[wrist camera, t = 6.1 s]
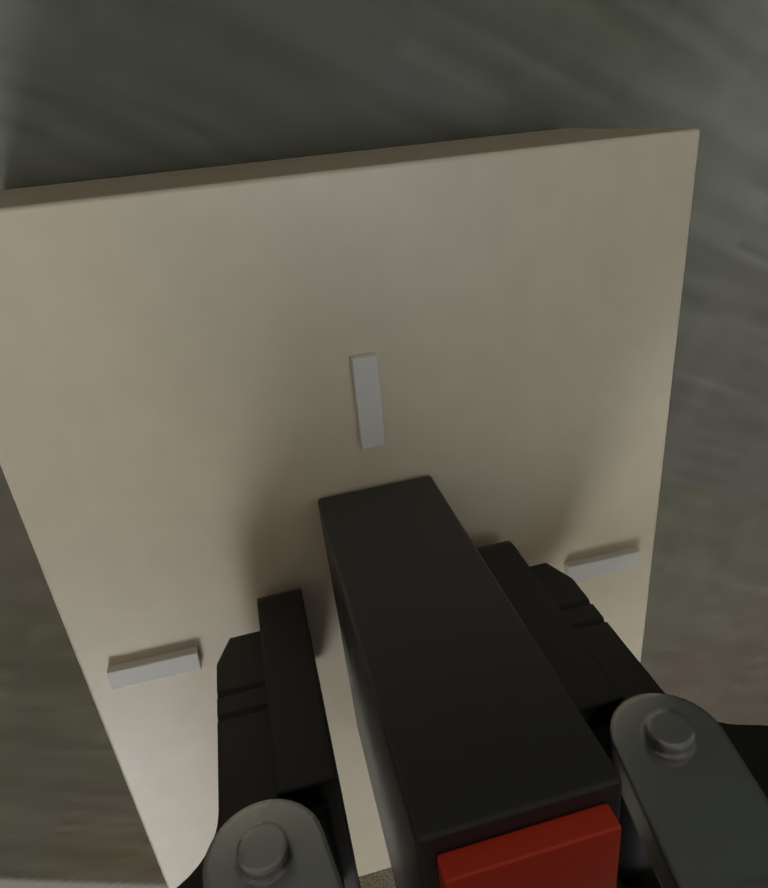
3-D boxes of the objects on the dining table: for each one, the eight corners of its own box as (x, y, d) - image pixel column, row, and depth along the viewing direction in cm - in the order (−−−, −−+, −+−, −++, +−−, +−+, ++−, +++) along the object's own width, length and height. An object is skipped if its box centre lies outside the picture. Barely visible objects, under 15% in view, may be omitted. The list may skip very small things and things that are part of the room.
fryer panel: (548, 673, 19) (629, 804, 15) (189, 765, 17) (183, 938, 13) (564, 128, 13) (710, 127, 9) (0, 189, 11) (-106, 220, 7)
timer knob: (450, 703, 13) (611, 1090, 7) (357, 728, 12) (460, 1147, 7) (430, 473, 10) (641, 805, 5) (317, 498, 10) (424, 873, 5)
